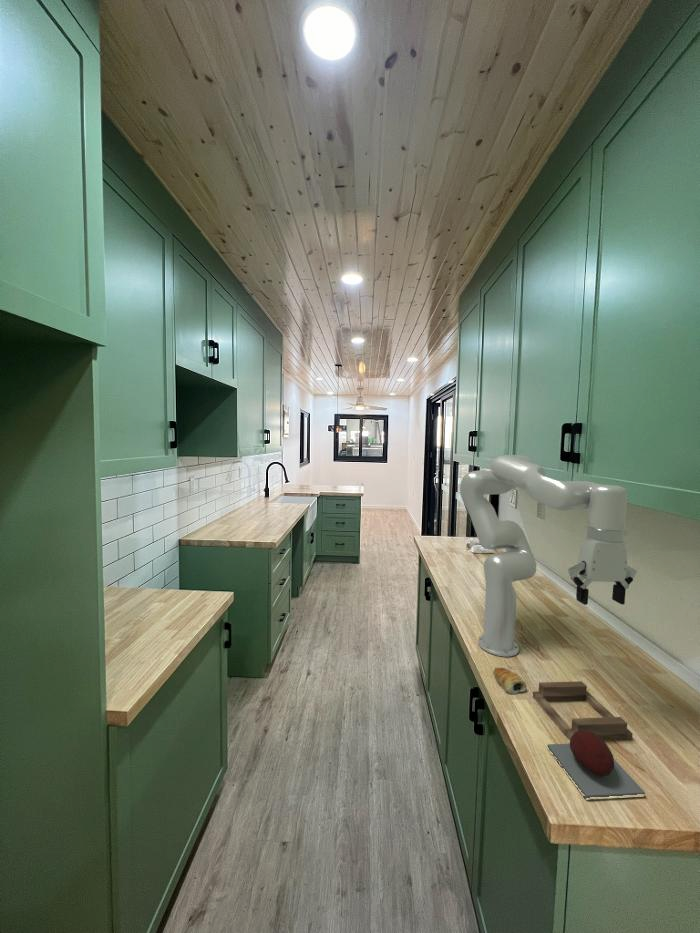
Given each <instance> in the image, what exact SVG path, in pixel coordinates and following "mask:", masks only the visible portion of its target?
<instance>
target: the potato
mask: <svg viewBox="0 0 700 933" xmlns="http://www.w3.org/2000/svg"><path fill="white" fill-rule="evenodd" d="M569 743H570V748H571V751H572V753H573V755H574V756H575V757H576V759H577V760H578V761H579V762H580V763H581V764H582V765H583V766H584V767H585V768H586V769H587V770H588V771H590V772H591V773H593V774H595V775H598V776H601V777H602V776H608V775H609V774H610V773H611V772H612V770H613V769H614V759H615V758H614V754H613V752H612V750H611V748H610V747H609V746H608V744H607V743H606V741H603V740H602V739H601V738H600V737H599V736H598V735H597V734H595V733H594V732H592V731H588V730H579V731H576V732H575V733H574V734H573V735H572V737H571V739H570V741H569Z"/></svg>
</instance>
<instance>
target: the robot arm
mask: <svg viewBox="0 0 700 933" xmlns="http://www.w3.org/2000/svg"><path fill="white" fill-rule="evenodd" d="M459 484H460V486H459V493H460V497H461V500H462V502H463V504H464V506H465V508H466V510H467V512H468V514H469V516H470V519H471V523H472V526H473V529H474V531H475V533H476V537H477V540H478V542H479V544H480V546H481V547H482V548H483V549H485V550H489V551H490V550H492V551H493V550H503V549H505V551H501V552H500V551H499V552H495V553H492V554H489V555H488V556H487V557H486V558H485V560H484V563H483V573H484V580H485V594H484V597H485V598H484V599H485V600H484V613H483V614H484V615H483V616H484V617H483V624H482V628H483V633H482V635H480V636H479V637H478V638H477V639H478V640H477V643H478V646H479V647H480V648H481V649H482V650H484V651H485V652H487V653H489V654H491V655H494V656H498V657H503V658H504V657H505V658H507V657H508V658H509V657H510V658H511V657H514V656H517V654H519V652H520V647H519V645H518V643H517V642H516V641H515V630H516V615H517V614H516V612H517V593H516V590H515V588H514V586H513V582H517V581H523V580H528V579H531V578H533V577H534V576H535V574H536V572H537V561H536V558H535V557H534V553H533V551H532V548H531V546H530V543H529V542H528V539H527V537H526V535H525V534H526V533H524V532H525V531H524V530H523V529H522V527H521V526H520V525H519V524H518V523H517V522H515V521H513V520H508V519H506V520H500V519H499V517H498V515H497V512H496V509H495V508H494V506H493V505H492V504H491V502H490V501H489V499H487V498H486V497H485V496H484V495H486V496H487V495H503V494H507V493H508V492H510V491H512V490H515V489H516V488H519V489H520V490H523V491H525V492H526V493H527V494H528V496H529V497H530V498H531V499H532V500H534V501H535V502H537V503H540V504H542V505H544V506H547V507H549V508H552V509H555V510H559V511H575V510H579V511H581V510H588V515H587V516H588V518H587V519H588V520H587V531H586V537H583V539H582V542H581V545H580V548H579V553H578V558H577V564H575V565H573V566H572V567H568V569H567V572H568V574H569V576H570V580H571V581H572V582H573V583H574V585H576V594H575V595H576V601H578V603H581V604H583V605H584V606H586V605H588V602H589V588H588V586H589V585H591V583H592V582H596V583H597V582H607V583H608V582H611V583H612V582H613V583H614V584H613V586H612V597H611V599H612V600H613V601H615V602H616V603H618V604H620V605H625V603H626V592H627V591H626V590H627V589H629V585H630V584H632V582H633V581H634V578H635V576H636V575H637V573H638V572H637V569H635V568H633V567H631V566H630V565H628V556H627V555H628V554H627V552H628V550H627V545H626V541H625V537H626V536H627V535H628V532H627V531H626V530H625V529H626V528H625V525H626V515H627V504H628V491H627V489H626V488H625V487H623V486H620V485H614V484H613V485H611V484H600V483H596V482H592V481H588V480H583V481H582V480H563V481H562V480H558V479H555V478H552V477H549V476H547V475H546V471H545V468H544V467H543V466H542V465H539V464H537V463H535V462H534V461H533V459H532V458H530V457H529V456H527V455H521V454H503V455H499V456H498V457H495V458H494V459H493V460H492V462H491V463H490V470H473V471H469V472H467V473H466V474H465V475H463V477H462V478H461V481H460V483H459Z"/></svg>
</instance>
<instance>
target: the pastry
mask: <svg viewBox="0 0 700 933" xmlns="http://www.w3.org/2000/svg"><path fill="white" fill-rule="evenodd" d="M493 675H494V677H495V680H496V683H497V684H498V685H499V686H500V688H502V690H503V689H504V690H503V691H505V693H507V694H510V695H516V694H518V693H523V692H525V691H526V690H527V684H526V682H525V680H523V678H521V677H522V676H520V675H519V674H518V673H517V672H513V671H511V670H510V669H508V668H504V667H495V668H494V670H493Z"/></svg>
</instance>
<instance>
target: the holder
mask: <svg viewBox="0 0 700 933" xmlns="http://www.w3.org/2000/svg"><path fill="white" fill-rule="evenodd" d="M587 689H588V686H587V685H586V684H585V683H584V682H583V681H554V682H553V681H550V682H549V681H545V682H544V681H543V682H542V681H541V682H540V681H539V682H538V691H533V692H532V698H533V699H534V700H535V702H536V703H537V704H538V705H539V706H540V708H543V711H544V713H546V715H547V716H548V717H549V718H550V719H551V721H552V722H553V723H554V724H555V725H556V727H558V729H559V730H560V731H561V733H562V734H563V733H564V734H563V735H564V736H565V737H566V739H567V740H568V739H569V740H570V739H571V737H572V735H573V734H574V733H575V732H576V731H579V730H588V731H592V732H594V733H595V734H597V735H598V736H599V737H600V738H601V739H602V740H610V741H630V740H631V739H632V740H633V735H634V734H633V732H632V731H631V730H630V729H629V728H628V722H627V721H626V720H625V719H624V718H622V717H621V716H615V715H614V714H612V713H611V712H610V711H609V710H608V708H606V707H605V706H604V705H603V704H602V703H601V702H600V701H598V699H596V698H595V696H593V695H592V693H591V692H589V691H588V690H587ZM584 701H585V702H586V703H587V704H588V705H590V706H591V708H593V709H594V710H595V711H596V712H597V713H598V714H599V715H600V717H580V718H579V717H576V718H575V717H574V718H571V727H570V726H569V724H568V723H567V722H566V721H565V720H564V718H562V716H561V715H560V714H559V713H558V712H557V711H556V710H555V709H554V707H553V706H552V705H551V704H550V703H555V702H557V703H558V702H584ZM549 702H550V703H549ZM569 740H568V741H569Z"/></svg>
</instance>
